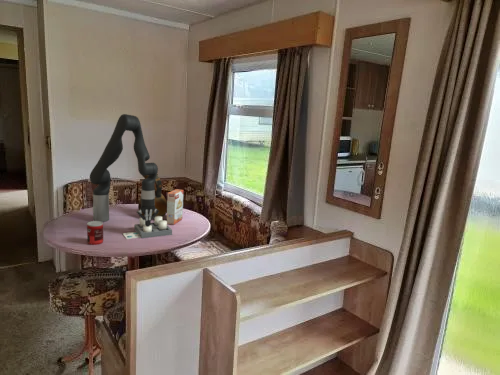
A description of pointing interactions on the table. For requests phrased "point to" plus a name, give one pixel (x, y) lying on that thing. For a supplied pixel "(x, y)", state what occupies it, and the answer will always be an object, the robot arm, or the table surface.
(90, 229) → the canned food
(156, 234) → the board
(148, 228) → the button
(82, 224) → the table surface
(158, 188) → the ceramic pitcher
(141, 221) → the button
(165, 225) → the button
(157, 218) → the button
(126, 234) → the card
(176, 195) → the cracker box
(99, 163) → the robot arm
